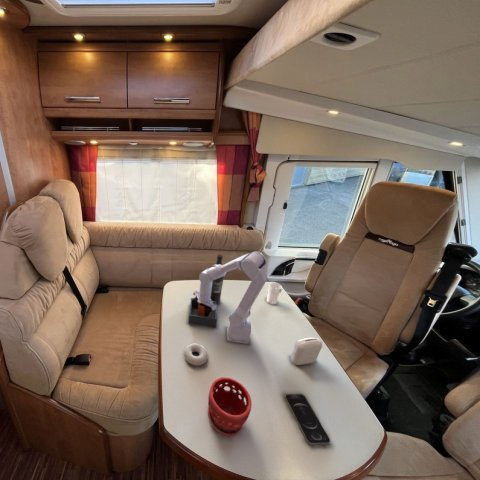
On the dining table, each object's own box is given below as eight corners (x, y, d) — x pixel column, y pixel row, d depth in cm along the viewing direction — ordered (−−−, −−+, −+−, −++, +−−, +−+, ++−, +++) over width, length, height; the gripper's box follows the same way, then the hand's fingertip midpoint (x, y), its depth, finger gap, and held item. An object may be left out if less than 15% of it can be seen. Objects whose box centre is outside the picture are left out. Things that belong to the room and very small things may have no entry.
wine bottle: (206, 304, 131) (212, 257, 119) (207, 296, 138) (213, 251, 125) (219, 306, 130) (226, 259, 117) (220, 298, 136) (227, 253, 123)
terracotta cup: (207, 312, 125) (208, 300, 121) (207, 319, 120) (208, 307, 117) (197, 311, 126) (198, 299, 122) (196, 318, 121) (198, 306, 117)
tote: (215, 308, 128) (216, 301, 126) (215, 327, 116) (217, 319, 114) (190, 305, 130) (190, 297, 128) (188, 323, 118) (189, 315, 116)
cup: (262, 299, 136) (266, 283, 131) (270, 296, 138) (275, 281, 134) (271, 306, 131) (276, 290, 126) (280, 303, 133) (285, 287, 128)
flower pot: (248, 444, 73) (255, 422, 68) (205, 435, 75) (209, 413, 70) (242, 401, 85) (248, 379, 79) (205, 394, 87) (209, 372, 81)
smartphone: (303, 394, 86) (332, 442, 73) (303, 395, 87) (331, 444, 73) (284, 394, 86) (308, 443, 73) (283, 395, 87) (308, 445, 73)
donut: (182, 365, 97) (207, 369, 95) (183, 359, 96) (207, 363, 94) (185, 345, 106) (207, 349, 104) (185, 339, 105) (208, 343, 103)
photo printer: (295, 366, 97) (303, 345, 92) (288, 357, 101) (296, 337, 96) (316, 363, 99) (326, 342, 94) (309, 354, 103) (317, 334, 97)
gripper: (189, 286, 119) (187, 307, 125) (210, 302, 109) (206, 324, 115) (199, 282, 123) (197, 302, 129) (220, 297, 112) (216, 318, 118)
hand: (202, 312), depth 122 cm, fingers closed on terracotta cup, 5 cm apart
